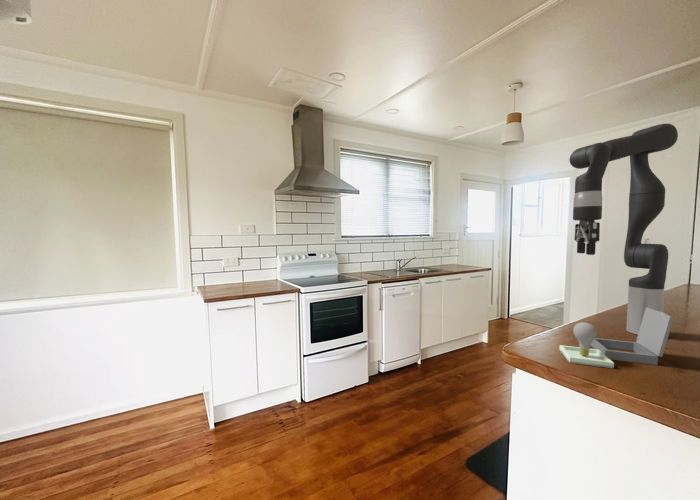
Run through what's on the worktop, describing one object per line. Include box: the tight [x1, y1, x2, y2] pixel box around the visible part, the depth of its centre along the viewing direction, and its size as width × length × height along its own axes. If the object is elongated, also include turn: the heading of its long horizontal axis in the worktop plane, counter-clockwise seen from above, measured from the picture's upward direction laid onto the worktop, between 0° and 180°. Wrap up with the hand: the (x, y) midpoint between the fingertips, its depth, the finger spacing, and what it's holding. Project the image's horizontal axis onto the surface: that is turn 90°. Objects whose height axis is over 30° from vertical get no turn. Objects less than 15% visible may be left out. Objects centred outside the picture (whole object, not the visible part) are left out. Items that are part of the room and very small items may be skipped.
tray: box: [558, 344, 615, 369], centre depth 86 cm, size 10×10×2 cm
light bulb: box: [573, 321, 598, 356], centre depth 86 cm, size 6×5×10 cm
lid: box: [635, 307, 675, 358], centre depth 86 cm, size 12×12×1 cm
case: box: [590, 337, 659, 366], centre depth 89 cm, size 12×12×2 cm
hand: (585, 254), depth 98 cm, fingers open, 8 cm apart
